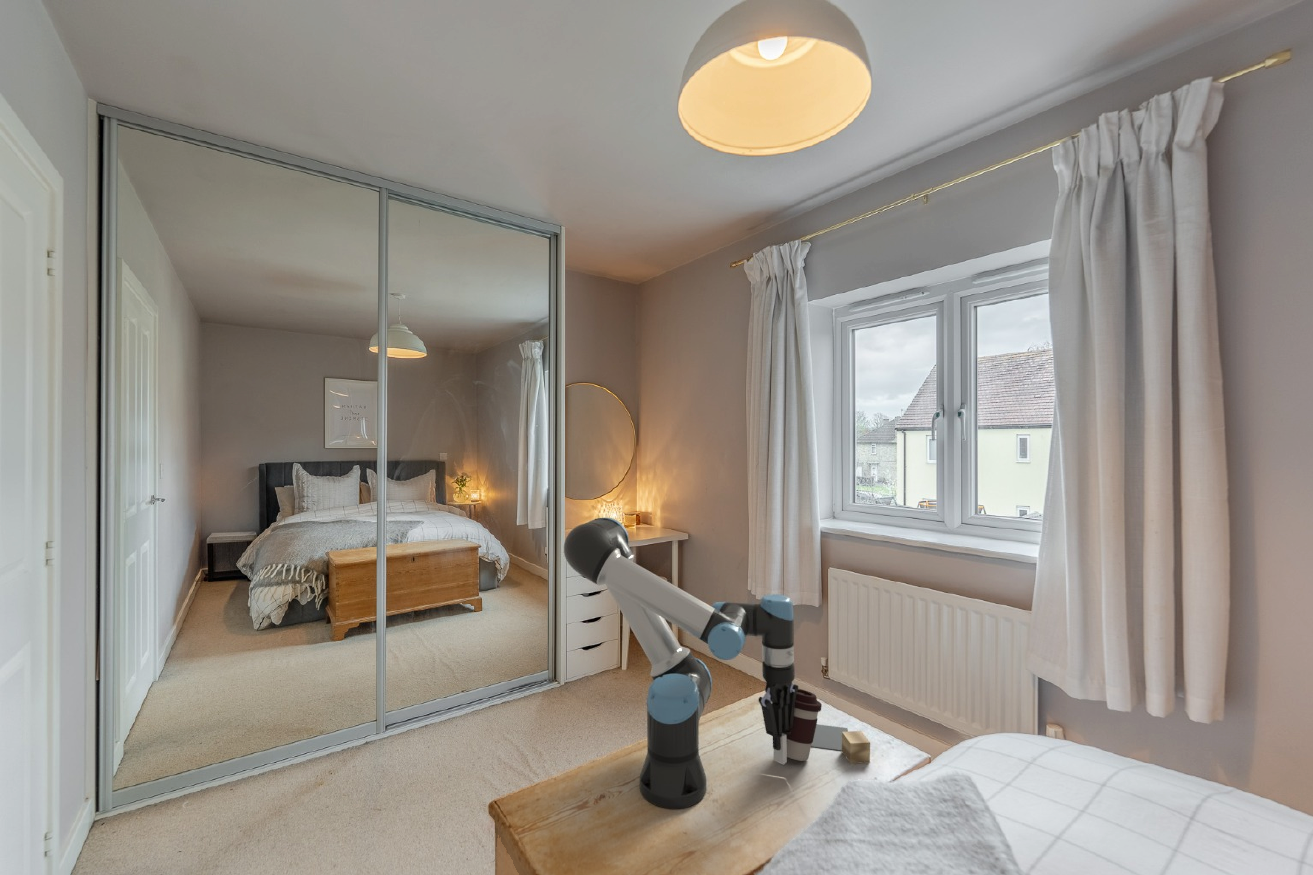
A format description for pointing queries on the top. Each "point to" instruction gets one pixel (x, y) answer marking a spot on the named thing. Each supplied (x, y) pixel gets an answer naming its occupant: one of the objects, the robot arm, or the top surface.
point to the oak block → (856, 747)
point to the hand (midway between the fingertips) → (780, 760)
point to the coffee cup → (803, 725)
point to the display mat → (828, 737)
